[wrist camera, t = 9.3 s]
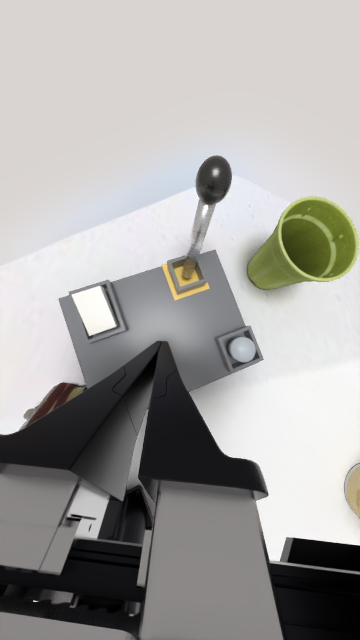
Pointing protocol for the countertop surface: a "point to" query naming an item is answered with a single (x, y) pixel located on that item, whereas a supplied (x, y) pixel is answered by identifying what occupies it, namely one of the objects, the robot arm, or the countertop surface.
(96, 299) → the rocker switch
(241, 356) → the push button
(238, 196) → the countertop surface
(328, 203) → the plant pot
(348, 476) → the coffee cup
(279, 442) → the countertop surface
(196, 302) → the switch panel
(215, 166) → the toggle lever
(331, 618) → the robot arm
